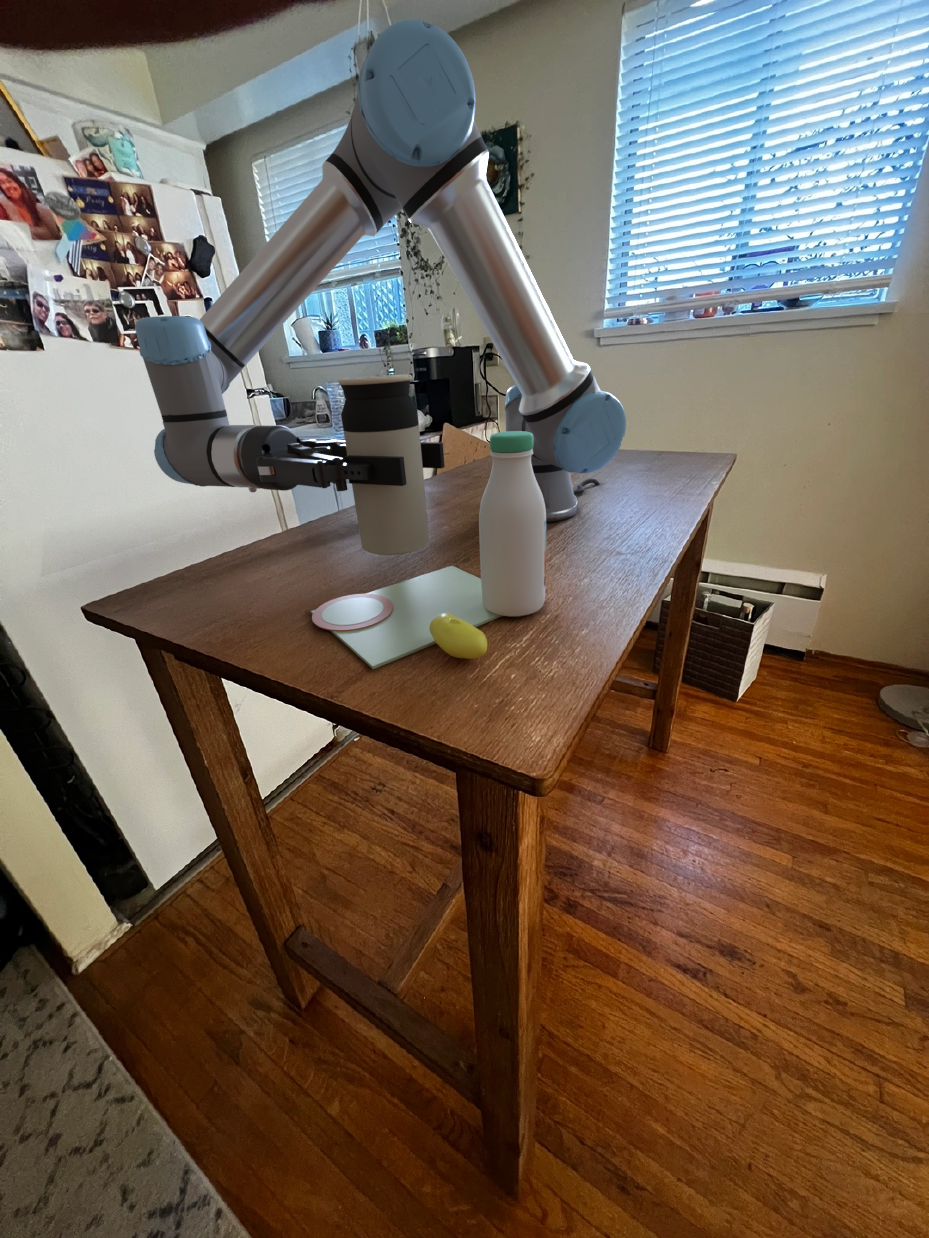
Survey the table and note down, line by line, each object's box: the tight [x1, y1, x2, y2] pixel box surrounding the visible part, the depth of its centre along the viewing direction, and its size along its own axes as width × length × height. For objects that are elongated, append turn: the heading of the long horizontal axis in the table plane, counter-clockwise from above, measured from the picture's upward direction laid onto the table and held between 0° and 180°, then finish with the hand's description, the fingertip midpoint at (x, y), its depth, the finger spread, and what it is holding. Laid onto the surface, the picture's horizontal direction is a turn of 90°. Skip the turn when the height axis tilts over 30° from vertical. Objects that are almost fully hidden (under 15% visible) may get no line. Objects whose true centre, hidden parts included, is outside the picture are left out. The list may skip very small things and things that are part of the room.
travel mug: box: [337, 373, 430, 556], centre depth 55 cm, size 8×8×18 cm
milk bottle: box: [478, 431, 547, 617], centre depth 57 cm, size 8×8×20 cm
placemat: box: [310, 565, 504, 670], centre depth 63 cm, size 23×18×1 cm
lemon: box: [430, 613, 488, 660], centre depth 52 cm, size 4×8×4 cm, turn 37°
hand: (423, 463), depth 53 cm, fingers closed on travel mug, 8 cm apart
